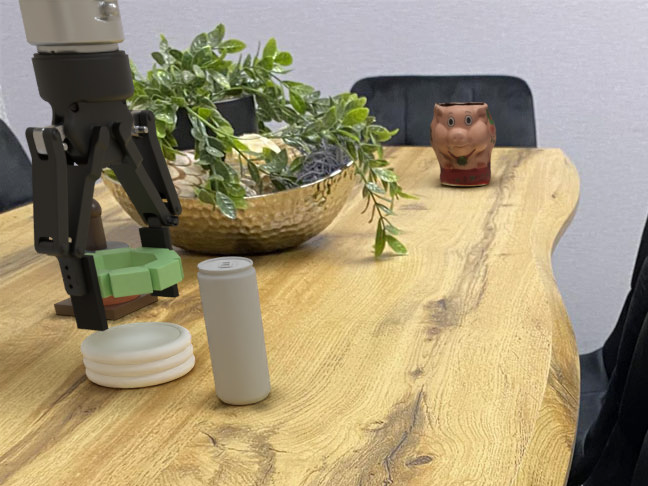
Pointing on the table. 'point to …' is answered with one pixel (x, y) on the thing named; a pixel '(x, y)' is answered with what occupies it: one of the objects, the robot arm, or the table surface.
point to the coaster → (138, 354)
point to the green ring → (136, 270)
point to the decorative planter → (463, 142)
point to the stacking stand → (111, 305)
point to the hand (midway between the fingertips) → (130, 311)
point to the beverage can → (234, 329)
